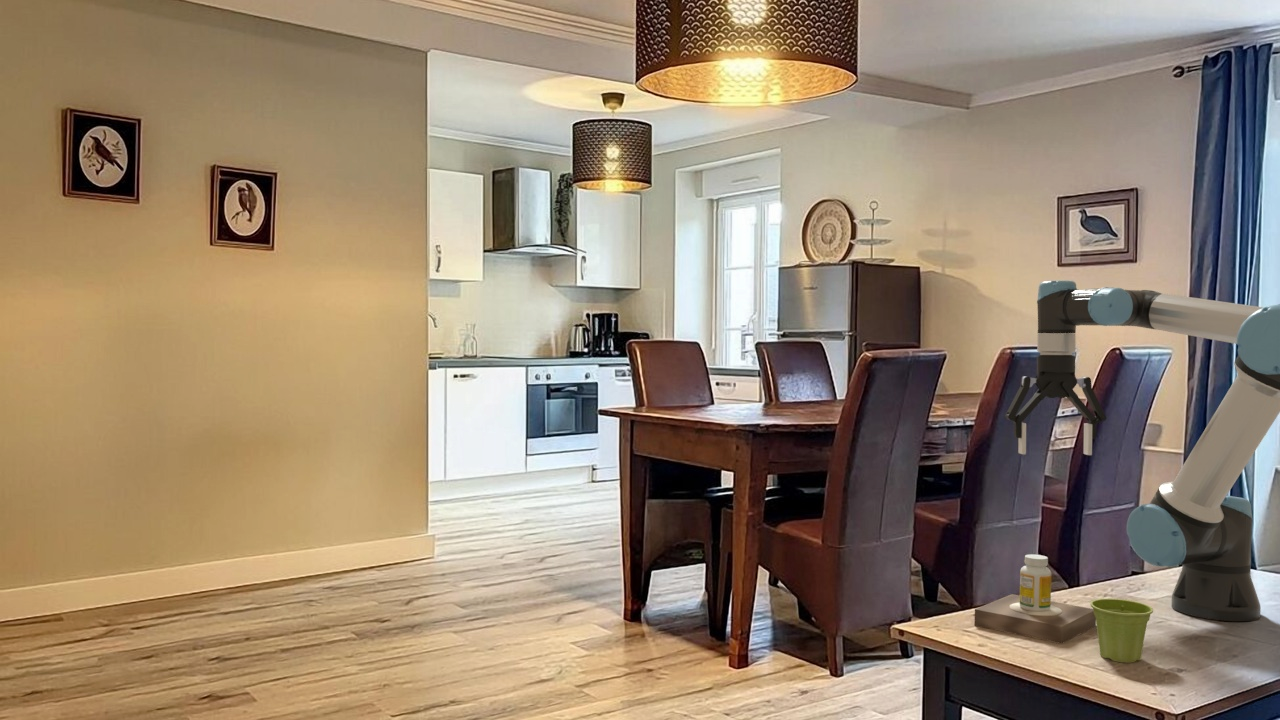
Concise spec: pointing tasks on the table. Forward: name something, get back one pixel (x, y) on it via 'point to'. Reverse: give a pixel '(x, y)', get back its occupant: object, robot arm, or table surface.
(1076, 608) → the walnut plinth
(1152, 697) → the table surface
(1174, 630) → the table surface
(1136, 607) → the plant pot
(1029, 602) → the supplement bottle
